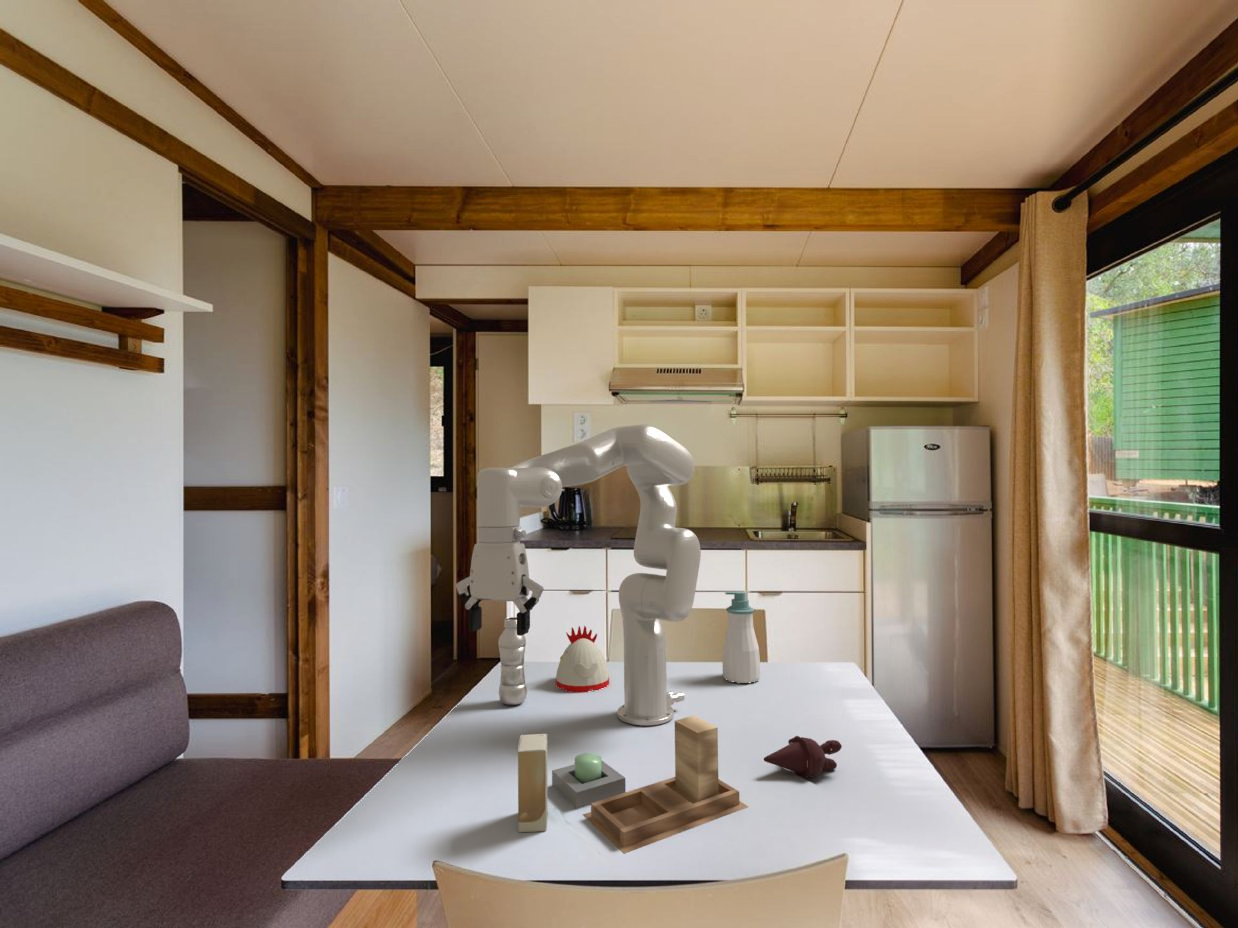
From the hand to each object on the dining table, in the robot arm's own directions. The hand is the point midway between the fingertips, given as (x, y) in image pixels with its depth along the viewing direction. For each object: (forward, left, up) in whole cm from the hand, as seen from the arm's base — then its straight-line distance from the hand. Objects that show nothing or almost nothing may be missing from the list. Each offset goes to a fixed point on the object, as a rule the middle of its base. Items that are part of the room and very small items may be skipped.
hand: (498, 632), depth 111 cm
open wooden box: (-17, +27, -26) cm, 41 cm away
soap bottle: (-74, -18, -26) cm, 81 cm away
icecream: (-45, +29, -26) cm, 60 cm away
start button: (-10, +14, -23) cm, 29 cm away
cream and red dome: (-37, -38, -26) cm, 59 cm away
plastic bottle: (-16, -34, -26) cm, 46 cm away
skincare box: (+1, +17, -26) cm, 31 cm away
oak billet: (-23, +27, -25) cm, 43 cm away
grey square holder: (-10, +14, -26) cm, 31 cm away
